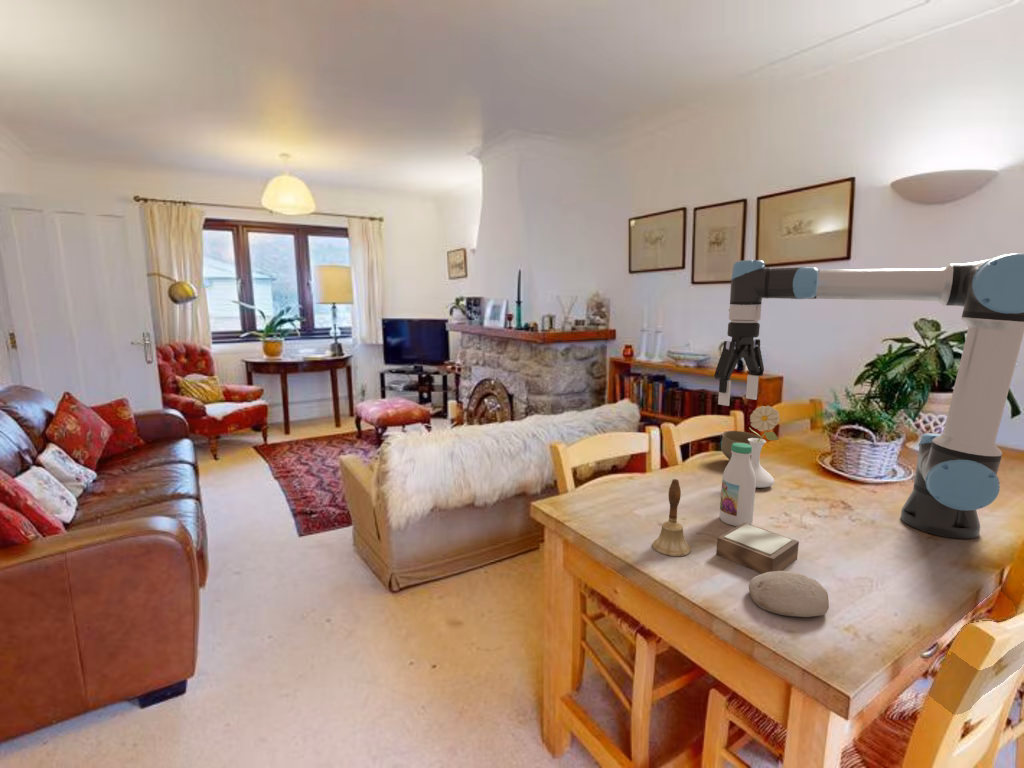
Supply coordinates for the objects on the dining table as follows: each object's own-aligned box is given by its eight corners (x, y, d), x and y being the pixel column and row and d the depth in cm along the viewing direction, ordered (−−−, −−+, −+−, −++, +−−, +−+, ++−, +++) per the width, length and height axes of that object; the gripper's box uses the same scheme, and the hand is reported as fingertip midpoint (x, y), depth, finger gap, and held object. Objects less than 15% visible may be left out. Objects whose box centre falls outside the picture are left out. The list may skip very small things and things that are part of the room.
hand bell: (648, 538, 120) (651, 473, 117) (684, 539, 120) (688, 474, 117) (657, 556, 112) (661, 486, 109) (695, 557, 111) (700, 487, 109)
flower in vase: (724, 480, 159) (730, 401, 155) (753, 476, 163) (759, 398, 158) (757, 495, 147) (765, 410, 142) (787, 490, 150) (795, 407, 146)
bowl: (739, 471, 166) (742, 442, 165) (711, 460, 178) (713, 432, 176) (769, 467, 171) (771, 438, 169) (739, 456, 183) (742, 429, 181)
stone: (749, 624, 96) (748, 604, 91) (749, 574, 103) (748, 553, 98) (829, 637, 91) (833, 616, 86) (823, 584, 97) (826, 562, 92)
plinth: (797, 558, 111) (799, 540, 110) (771, 577, 103) (773, 557, 103) (743, 538, 120) (744, 521, 119) (716, 554, 113) (717, 536, 112)
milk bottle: (746, 515, 133) (752, 440, 130) (757, 528, 125) (764, 449, 122) (715, 513, 134) (720, 439, 130) (724, 526, 126) (730, 448, 123)
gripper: (754, 320, 143) (748, 394, 147) (703, 322, 128) (697, 405, 132) (782, 321, 137) (775, 398, 141) (731, 323, 123) (724, 410, 126)
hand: (737, 401), depth 136 cm, fingers open, 13 cm apart
